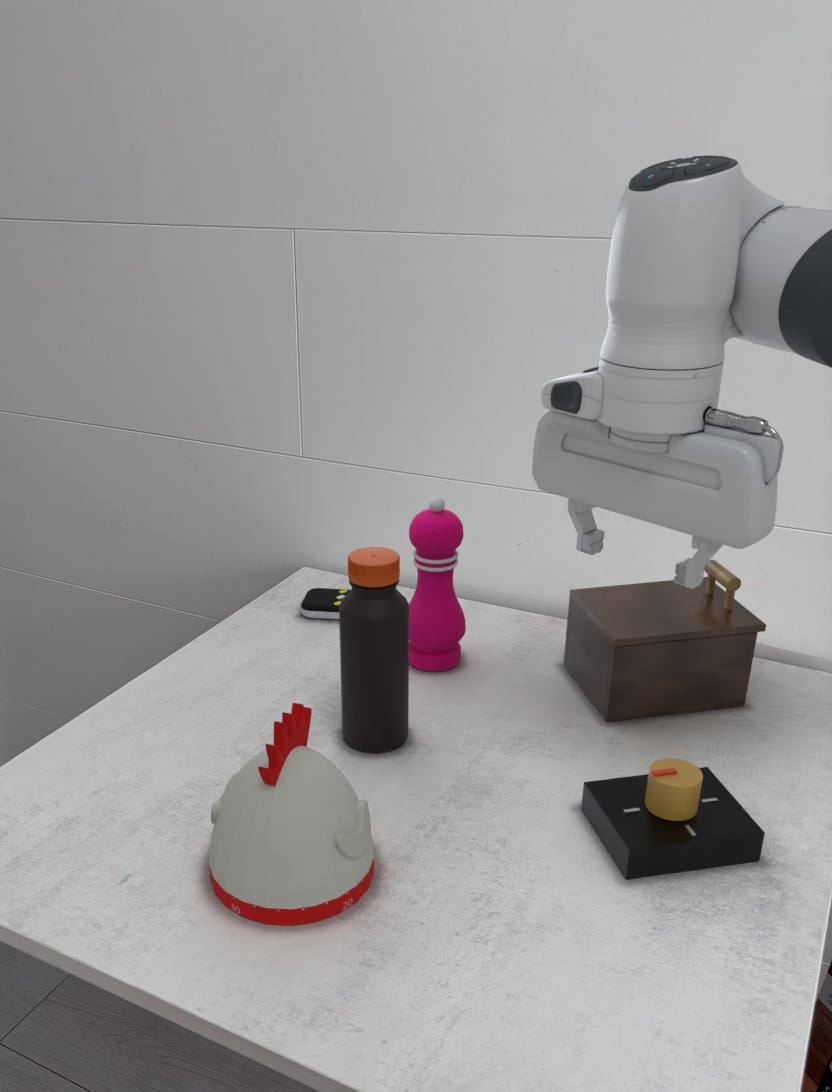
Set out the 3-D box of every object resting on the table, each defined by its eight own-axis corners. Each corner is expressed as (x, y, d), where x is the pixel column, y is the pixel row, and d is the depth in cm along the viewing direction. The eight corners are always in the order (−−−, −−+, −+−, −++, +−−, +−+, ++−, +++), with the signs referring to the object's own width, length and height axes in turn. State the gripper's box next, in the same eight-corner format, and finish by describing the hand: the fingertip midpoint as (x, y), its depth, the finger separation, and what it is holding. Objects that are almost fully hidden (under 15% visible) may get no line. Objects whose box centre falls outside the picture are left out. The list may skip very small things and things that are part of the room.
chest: (689, 652, 120) (699, 584, 116) (744, 706, 109) (757, 632, 105) (563, 665, 118) (569, 596, 114) (606, 722, 107) (614, 647, 103)
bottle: (406, 718, 108) (408, 542, 99) (409, 753, 102) (411, 569, 93) (342, 719, 108) (338, 543, 99) (342, 754, 102) (337, 570, 93)
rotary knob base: (702, 793, 96) (707, 765, 94) (759, 861, 87) (765, 831, 85) (580, 808, 94) (583, 780, 92) (625, 879, 85) (629, 849, 84)
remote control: (308, 598, 136) (308, 584, 135) (404, 603, 134) (404, 589, 133) (298, 618, 130) (298, 604, 130) (398, 624, 128) (398, 610, 128)
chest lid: (706, 583, 117) (712, 545, 114) (765, 631, 105) (772, 590, 103) (569, 596, 114) (572, 557, 112) (614, 647, 103) (619, 605, 101)
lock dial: (682, 788, 91) (688, 752, 89) (706, 817, 87) (713, 780, 86) (636, 794, 90) (641, 758, 89) (658, 824, 87) (663, 787, 85)
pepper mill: (396, 648, 123) (397, 488, 114) (455, 642, 124) (459, 483, 115) (410, 677, 116) (412, 510, 107) (472, 670, 117) (478, 505, 108)
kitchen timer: (396, 838, 90) (397, 691, 84) (336, 943, 79) (331, 783, 72) (256, 805, 95) (245, 663, 88) (179, 899, 84) (160, 745, 77)
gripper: (810, 414, 71) (776, 595, 78) (575, 369, 85) (562, 526, 92) (763, 432, 68) (731, 620, 74) (525, 382, 82) (516, 544, 88)
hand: (636, 567), depth 83 cm, fingers open, 8 cm apart
